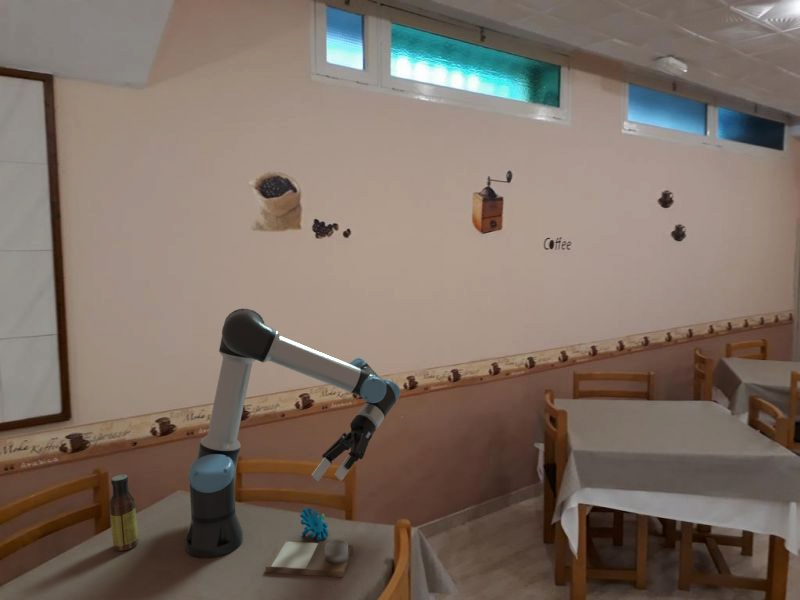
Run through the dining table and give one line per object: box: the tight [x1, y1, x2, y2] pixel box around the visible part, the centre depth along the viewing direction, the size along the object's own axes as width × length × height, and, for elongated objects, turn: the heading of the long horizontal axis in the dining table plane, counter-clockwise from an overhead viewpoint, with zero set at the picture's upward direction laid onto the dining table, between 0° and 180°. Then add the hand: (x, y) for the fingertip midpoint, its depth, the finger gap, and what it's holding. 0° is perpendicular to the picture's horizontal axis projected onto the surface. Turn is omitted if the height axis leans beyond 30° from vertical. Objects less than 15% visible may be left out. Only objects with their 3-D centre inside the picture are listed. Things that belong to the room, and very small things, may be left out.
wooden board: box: [264, 539, 354, 578], centre depth 146 cm, size 20×12×4 cm, turn 83°
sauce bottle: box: [109, 474, 139, 552], centre depth 153 cm, size 6×6×20 cm
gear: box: [299, 507, 330, 541], centre depth 159 cm, size 11×6×10 cm
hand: (325, 477), depth 159 cm, fingers open, 13 cm apart
